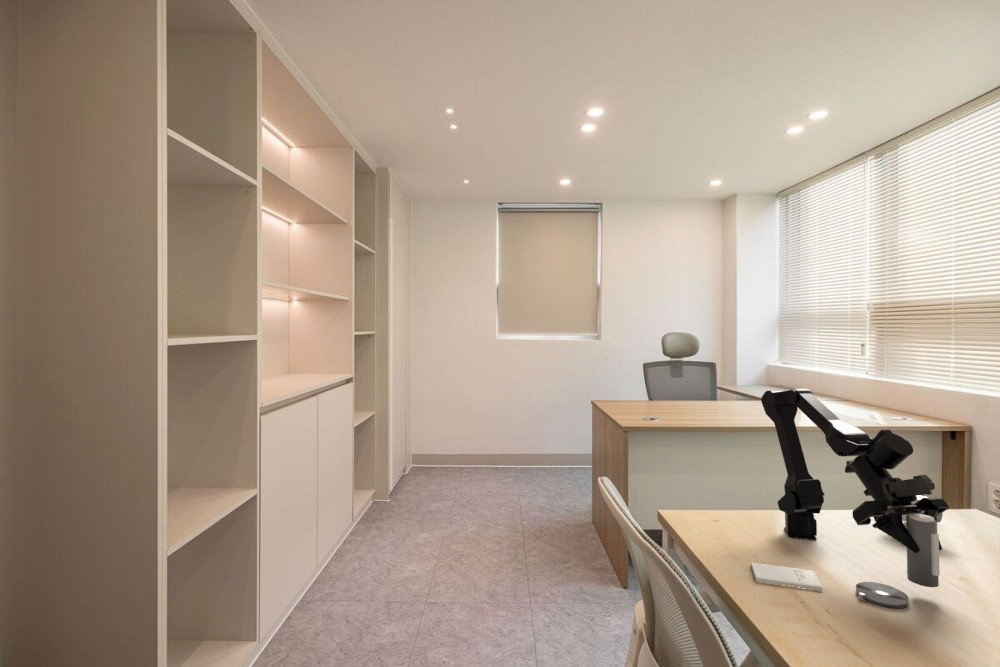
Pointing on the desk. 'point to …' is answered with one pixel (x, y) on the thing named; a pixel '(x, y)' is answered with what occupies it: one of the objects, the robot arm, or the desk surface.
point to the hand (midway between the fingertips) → (928, 551)
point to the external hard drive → (785, 576)
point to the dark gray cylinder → (923, 550)
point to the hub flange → (882, 595)
